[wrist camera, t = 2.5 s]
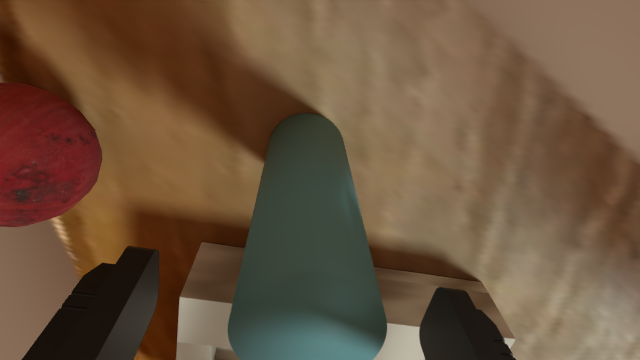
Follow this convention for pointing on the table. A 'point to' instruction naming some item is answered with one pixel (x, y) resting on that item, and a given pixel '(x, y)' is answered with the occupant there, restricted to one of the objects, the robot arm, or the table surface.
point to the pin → (307, 256)
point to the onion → (43, 155)
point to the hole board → (395, 289)
